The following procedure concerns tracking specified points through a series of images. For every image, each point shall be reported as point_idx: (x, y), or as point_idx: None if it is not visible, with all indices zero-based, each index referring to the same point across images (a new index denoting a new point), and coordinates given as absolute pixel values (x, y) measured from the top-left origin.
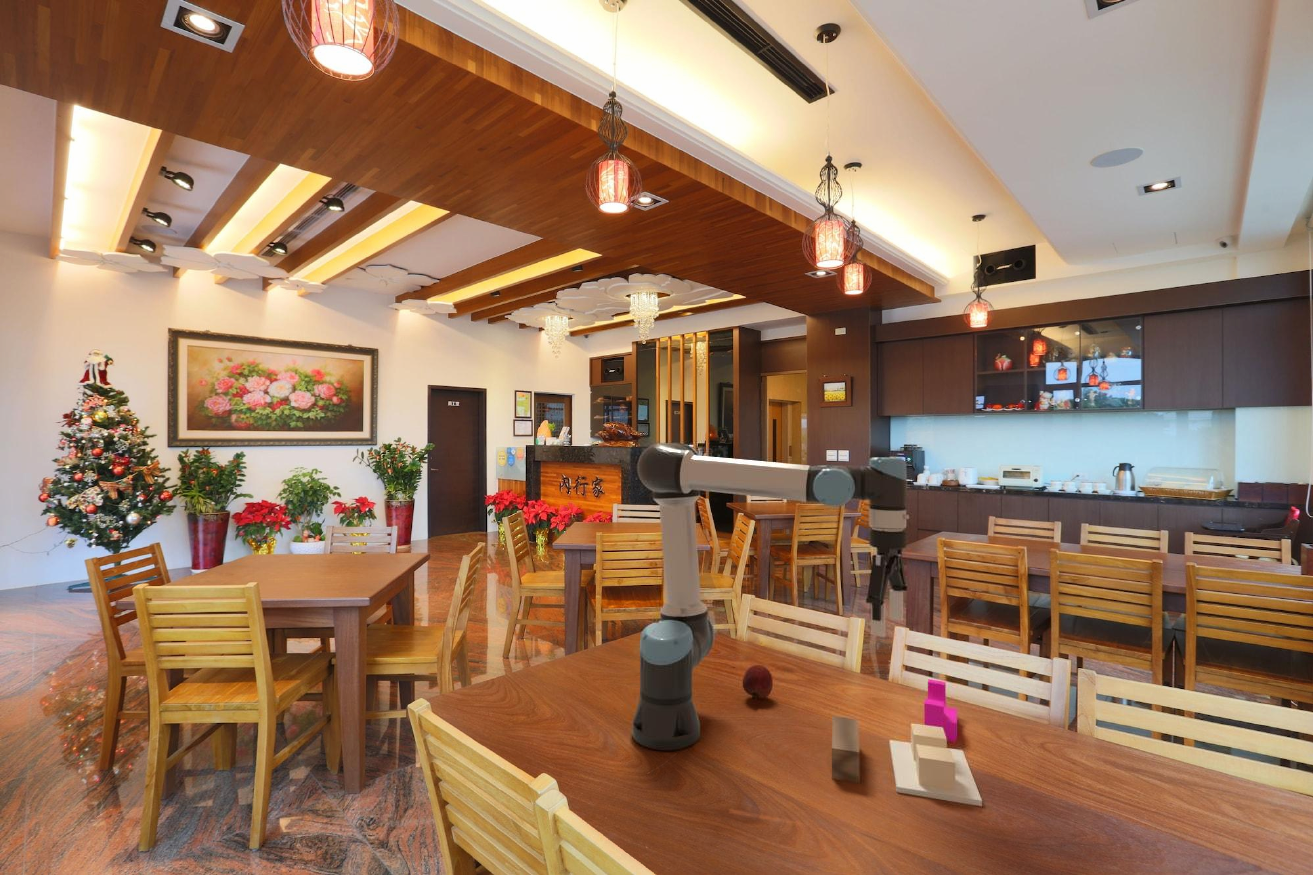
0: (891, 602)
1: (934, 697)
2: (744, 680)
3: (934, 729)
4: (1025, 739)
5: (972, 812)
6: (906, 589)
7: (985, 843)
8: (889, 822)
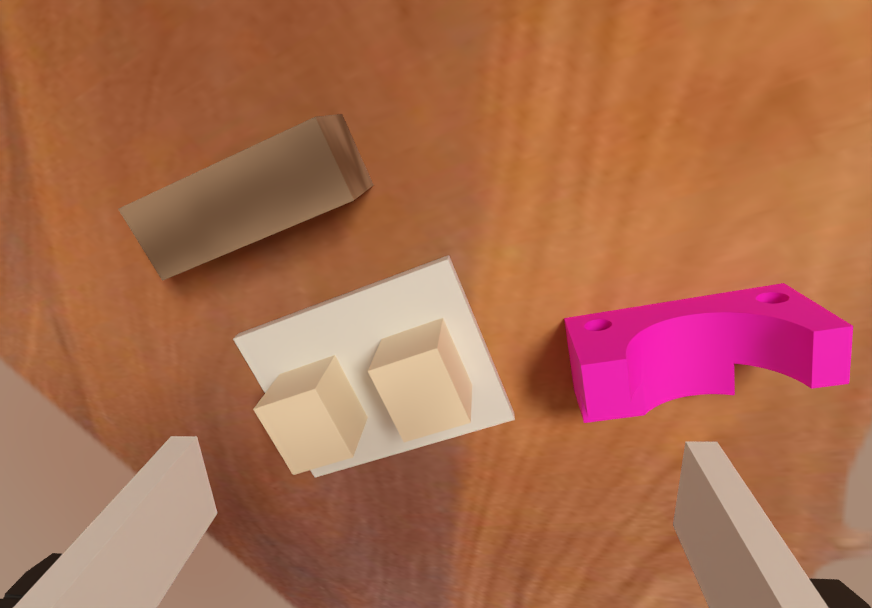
0: (756, 587)
1: (764, 336)
2: None
3: (441, 408)
4: None
5: None
6: None
7: None
8: (128, 350)
